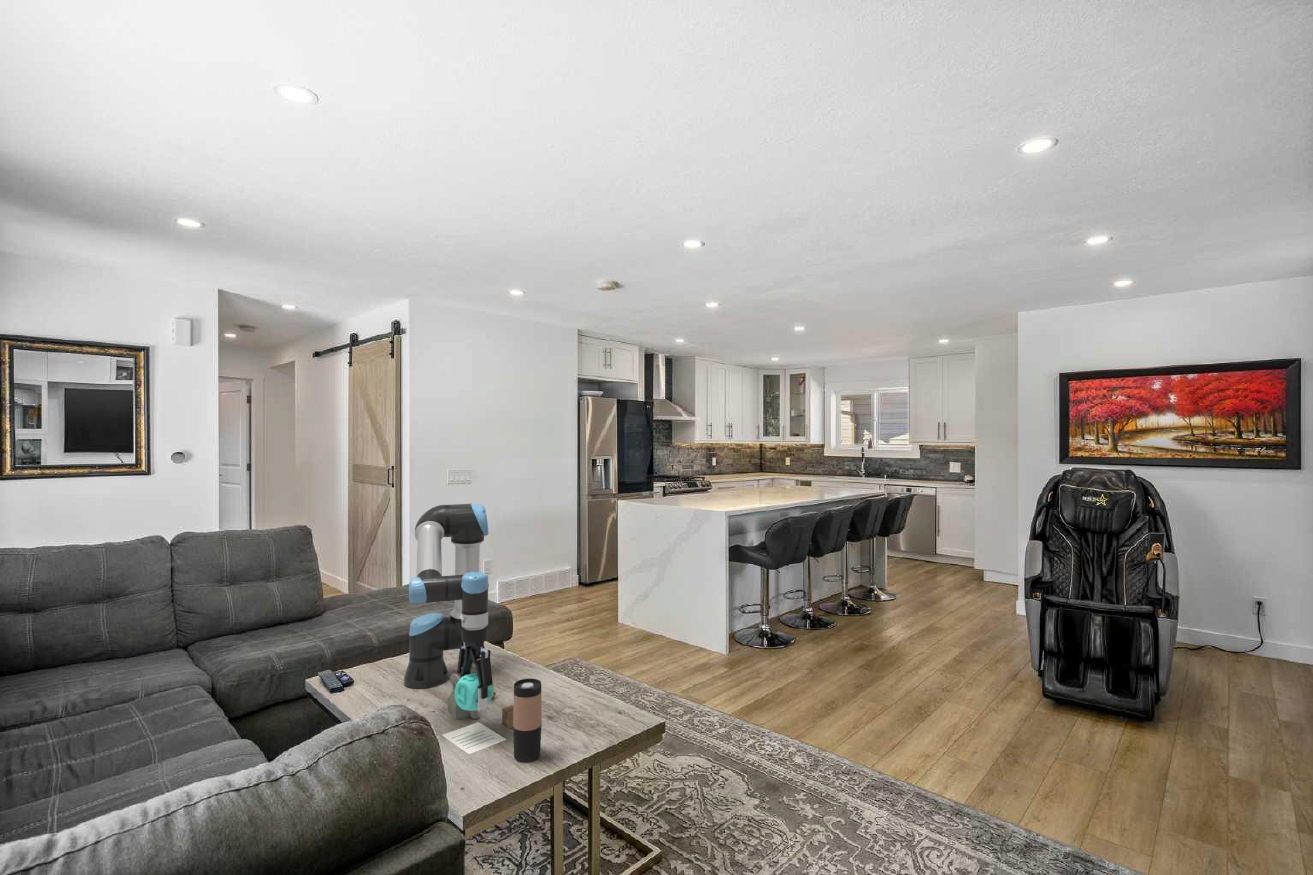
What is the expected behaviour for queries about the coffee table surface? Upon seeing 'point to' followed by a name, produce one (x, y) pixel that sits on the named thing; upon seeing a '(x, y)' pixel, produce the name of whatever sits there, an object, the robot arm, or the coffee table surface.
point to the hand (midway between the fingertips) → (474, 703)
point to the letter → (473, 737)
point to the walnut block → (507, 716)
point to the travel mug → (527, 720)
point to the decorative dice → (469, 692)
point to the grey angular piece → (453, 705)
